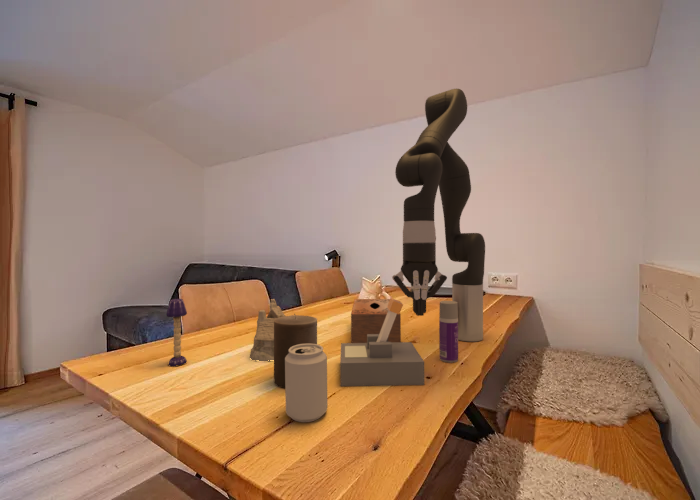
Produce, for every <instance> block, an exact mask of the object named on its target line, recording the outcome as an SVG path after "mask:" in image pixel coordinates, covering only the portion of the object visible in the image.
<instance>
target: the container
mask: <svg viewBox="0 0 700 500" xmlns="http://www.w3.org/2000/svg"><path fill="white" fill-rule="evenodd" d="M438 315H439V320H438V323H439V326H438V327H439V329H438V330H439V331H438V333H439V335H438V337H439V339H438V340H439V341H438V342H439V347H438V348H439V351H438V353H439V355H438V356H439V360H440V361H441V362H443V363H451V364H452V363H453V362H454V363H457V362H459V340H458V303H457V302H455V301H452V300H440V301H439V314H438Z"/></svg>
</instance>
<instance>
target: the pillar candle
mask: <svg viewBox="0 0 700 500" xmlns="http://www.w3.org/2000/svg"><path fill="white" fill-rule="evenodd" d="M299 344H318V318H317V317H314V316H311V315H299V314H298V315H296V313H294V314H293V315H292V314H291V315H285V316H284V317H279V318H276V319H275V320H274V362H273V383H274V384H275V386H277V387H280V388H283V389H285V357H286V356H287V355H288V353H289V351H288V350H289V348H290V347H292V346H295V345H299Z"/></svg>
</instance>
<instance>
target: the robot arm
mask: <svg viewBox="0 0 700 500" xmlns="http://www.w3.org/2000/svg"><path fill="white" fill-rule="evenodd" d="M424 114H425V118H426V124H427V126H426V127H425V128H424V130H422V132H421V133H420V135H419V137H418V139H417V140H416V142H415V144H413V146H412V147H410V148H409V149H408V150H407V151H406V152H404V154H402V156H401V157H400V158H399V159H398V160H397V163H396V167H395V172H394V173H395V179H396V181H397V182H398V183H399V184H400V186H402V187H406V188H411V187H420V186H422V187H421V190H420V191H419V192H418V193H416V194H413V195H411V196H408V197H406V198H405V199H404V202H403V225H402V226H403V228H402V265H401V267H400V271H399V272H398V273H396V274H394V275H392V276H391V277H392V280H393V281H394V283H395V284H396V285H397V286H398V287H399V289H400V290H401V292H403V294H404V295H405V296H406V297H407V298H411V299H412V310H413V313H414V314H415V315H416V316H418V317H419V316H420V317H421V316H424V315H425V314H426V313H427V300H428V299H429V298H431V297H432V298H433V297H434V296H435V295H436V294H437V293H438V292H439V290H440V289H441V287H442V286H443V285H444V283H445V282H446V281H447V279H448V277H447V276H446V275H444V274H443V273H441V272H440V271H439V268H438V266H437V263H436V262H437V261H436V260H437V256H436V248H437V247H436V244H437V243H436V241H437V236H436V234H437V233H436V232H437V231H436V223H435V202H436V196H437V192H438V189H439V194H440V201H441V205H442V212H443V221H444V236H445V237H444V238H445V248H446V253H447V256H448V258H449V259H450V260H451V261H452V262H454V263H455V262H456V263H467V266H466V268H465V269H464V270H461V271H460V272H455V273H454V274H453V275H452V278H451V284H452V285H451V288H452V291H451V292H452V294H451V295H452V297H451V298H452V299H451V301H455V302H457V303H458V341H462V342H479V341H483V339H484V276H485V261H486V260H485V259H486V242H485V238H484V236H483V234H482V233H480V232H464V233H463V232H462V233H461V217H462V213H463V210H464V209H465V207H466V205H467V204H468V201H469V199H470V195H471V193H472V183H471V177H470V175H471V174H470V170H469V167H468V165H467V164H466V162H465V160H463V158H462V157H461V156H460V155H459V154H458V153H457V152H456V151H455V150H454V149H453V147H452V146H451V144H450V143H449V140H450V139H451V137H452V135H453V134H454V133H455V132H456V130H457V129H458V128H459V127H460V125H461V124H462V123H463V121H464V120H465V118H466V116H467V114H468V101H467V97H466V95H465V93H464V91H463V90H462V89H461V88H451V89H448V90H445V91H443V92H439V93H437V94H434V95H431V96H429V97H427V98H426V100H425V103H424ZM404 277H405V279H406V280H407V282H408V283H409V284H410V288H411V291H410V290H409V288H408V287H407V286H406V285H405V283H404ZM433 278H434V281H433V283H432V284H431V285H430V287H429V284H430V283H431V282H432V280H433Z"/></svg>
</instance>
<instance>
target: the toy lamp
mask: <svg viewBox="0 0 700 500" xmlns="http://www.w3.org/2000/svg"><path fill="white" fill-rule="evenodd" d="M187 312H188V311H187V308H186V305H185V301H184V299H182V298H173V299H170V300H169V302H168V306H167V311H166V317H168V318H172V319H173V320H172V321H173V357H171V358H170V359H169V361H168V366H169V365H170V366H169V367H172V366H173V367H174V366H175V367H177V366H176V365H181V364H184V363H186V362H187V363H188V361H187V358H186V357H185V356H183V355H182V351H181V350H182V345H181V344H182V339H181V338H182V333H181V332H182V327H181V325H182V323H181V320H182V317H185V316H186V315H187V314H188V313H187ZM187 363H186V364H187ZM184 365H185V364H184ZM181 366H182V365H181Z"/></svg>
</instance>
